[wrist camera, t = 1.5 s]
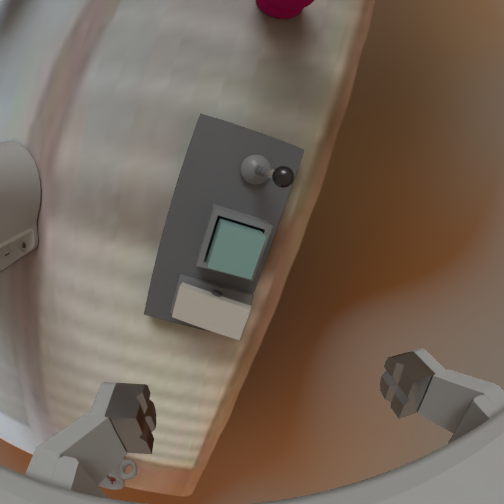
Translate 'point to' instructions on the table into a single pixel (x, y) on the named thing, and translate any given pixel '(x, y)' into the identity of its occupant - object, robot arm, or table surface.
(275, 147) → the control panel
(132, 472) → the cup
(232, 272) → the push button
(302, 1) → the pepper mill
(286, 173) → the toggle lever
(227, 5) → the table surface
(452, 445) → the robot arm
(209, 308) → the rocker switch
